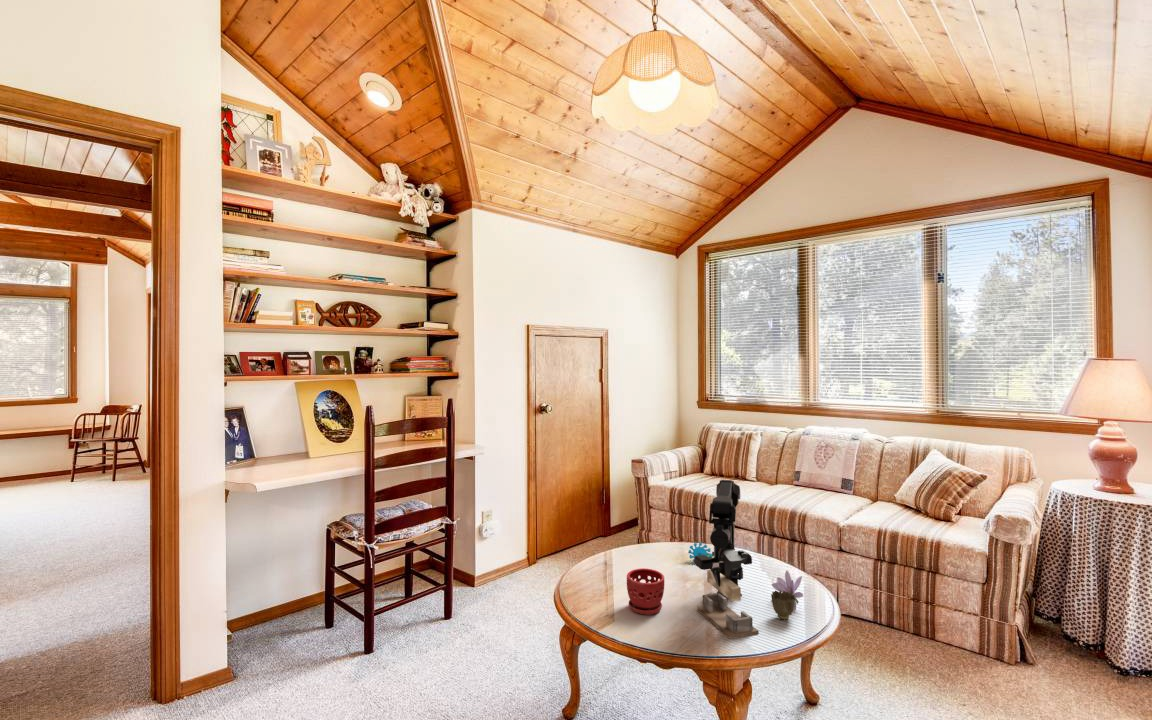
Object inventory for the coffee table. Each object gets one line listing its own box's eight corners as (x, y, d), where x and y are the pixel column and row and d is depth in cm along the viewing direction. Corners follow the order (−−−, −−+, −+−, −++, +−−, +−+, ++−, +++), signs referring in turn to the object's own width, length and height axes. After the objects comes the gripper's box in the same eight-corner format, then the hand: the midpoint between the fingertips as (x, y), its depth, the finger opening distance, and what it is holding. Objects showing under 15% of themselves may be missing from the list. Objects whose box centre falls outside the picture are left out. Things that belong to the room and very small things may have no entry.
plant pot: (619, 610, 187) (619, 576, 188) (640, 598, 197) (639, 565, 198) (651, 621, 179) (651, 585, 179) (671, 608, 189) (671, 573, 189)
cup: (776, 611, 185) (775, 588, 186) (798, 617, 181) (797, 593, 181) (768, 619, 180) (767, 595, 180) (790, 626, 175) (790, 601, 175)
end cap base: (697, 609, 188) (697, 595, 188) (722, 605, 190) (722, 591, 190) (730, 638, 167) (730, 622, 167) (758, 633, 170) (758, 617, 170)
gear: (687, 561, 230) (689, 539, 237) (686, 567, 235) (687, 545, 242) (714, 566, 229) (715, 544, 235) (712, 572, 233) (713, 550, 240)
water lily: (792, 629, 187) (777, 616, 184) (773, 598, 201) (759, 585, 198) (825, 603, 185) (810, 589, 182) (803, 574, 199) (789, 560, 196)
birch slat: (707, 581, 186) (707, 570, 186) (715, 580, 187) (714, 569, 187) (732, 601, 171) (732, 588, 171) (740, 600, 172) (740, 587, 172)
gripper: (709, 549, 169) (710, 599, 169) (761, 543, 174) (762, 592, 174) (692, 538, 180) (693, 585, 180) (742, 533, 185) (743, 578, 184)
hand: (723, 585), depth 179 cm, fingers closed on birch slat, 3 cm apart
